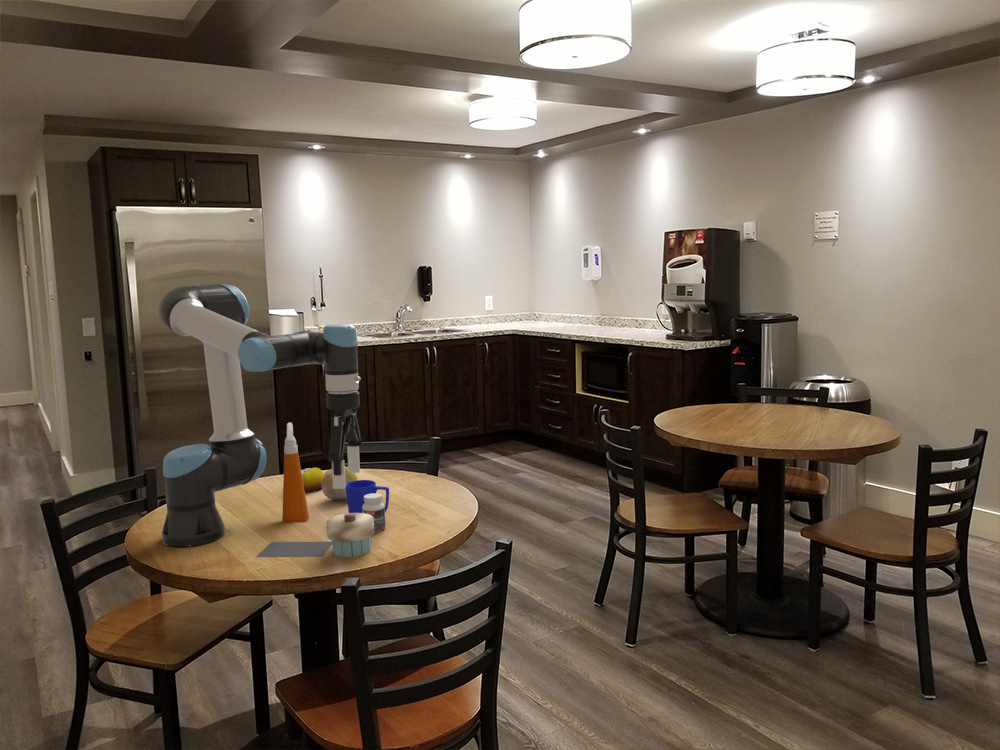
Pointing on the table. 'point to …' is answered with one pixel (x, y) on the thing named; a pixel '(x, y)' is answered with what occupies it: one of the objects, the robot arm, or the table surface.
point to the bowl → (352, 547)
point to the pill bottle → (375, 510)
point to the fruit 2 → (328, 485)
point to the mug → (362, 494)
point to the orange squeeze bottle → (293, 482)
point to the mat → (295, 549)
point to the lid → (350, 527)
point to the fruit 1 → (312, 479)
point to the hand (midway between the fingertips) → (347, 480)
